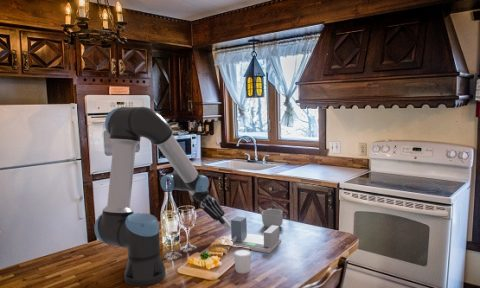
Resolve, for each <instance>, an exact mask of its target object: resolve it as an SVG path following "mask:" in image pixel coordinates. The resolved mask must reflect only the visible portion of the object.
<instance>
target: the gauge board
mask: <svg viewBox="0 0 480 288" xmlns="http://www.w3.org/2000/svg"><path fill="white" fill-rule="evenodd" d="M227 237H229V238H230V239H232V237H231V234H229V235H228V236H227ZM281 242H282V238H281V237H280V226H275V225H272V226H270V227H269V228H267V229H266V230H265V231H263V235H262V234H261V235H260V234H255V233H254V234H253V233H248V232H247V236H246V237H245V238H244V239H243V240H235V241H234V242H233V245H236V246H242V247H249V248H250V249H251V250H250V251H256V252H262V253H268V254H269V253H270V254H271V252H272V251H273V250H274V249H275V248H276V247H277V246H279V244H280V243H281Z"/></svg>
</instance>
